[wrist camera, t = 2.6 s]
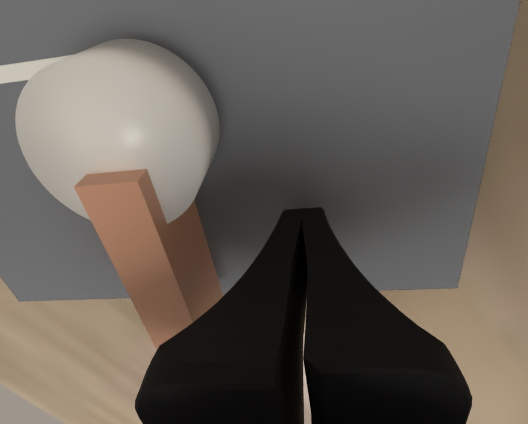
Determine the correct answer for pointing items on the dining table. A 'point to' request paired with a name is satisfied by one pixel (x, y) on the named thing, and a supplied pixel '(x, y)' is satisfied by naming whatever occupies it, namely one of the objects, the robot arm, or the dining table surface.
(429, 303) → the dining table surface
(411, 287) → the flat gray plate
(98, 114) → the ball on stick
